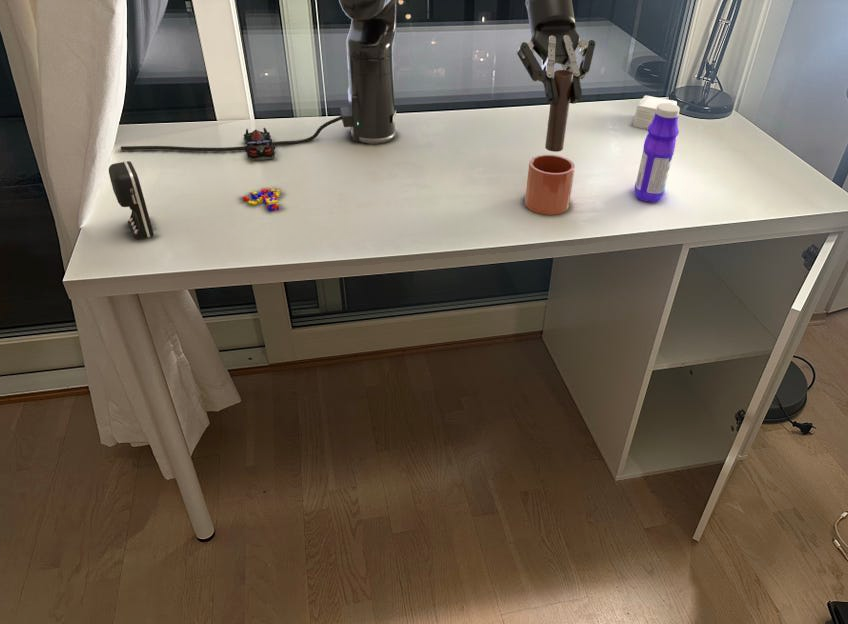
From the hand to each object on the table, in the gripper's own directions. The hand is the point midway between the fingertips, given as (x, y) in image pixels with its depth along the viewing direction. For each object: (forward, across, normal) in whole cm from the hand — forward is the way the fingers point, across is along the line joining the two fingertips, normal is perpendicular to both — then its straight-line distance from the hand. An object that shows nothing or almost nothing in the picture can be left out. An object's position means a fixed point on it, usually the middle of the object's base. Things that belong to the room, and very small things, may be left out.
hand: (565, 101), depth 118 cm
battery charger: (+11, -72, +18) cm, 75 cm away
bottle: (+13, +21, +16) cm, 29 cm away
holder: (+13, 0, +16) cm, 20 cm away
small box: (-10, +38, +39) cm, 56 cm away
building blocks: (+6, -51, +23) cm, 56 cm away
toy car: (-11, -51, +39) cm, 65 cm away
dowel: (+5, 0, +8) cm, 9 cm away
